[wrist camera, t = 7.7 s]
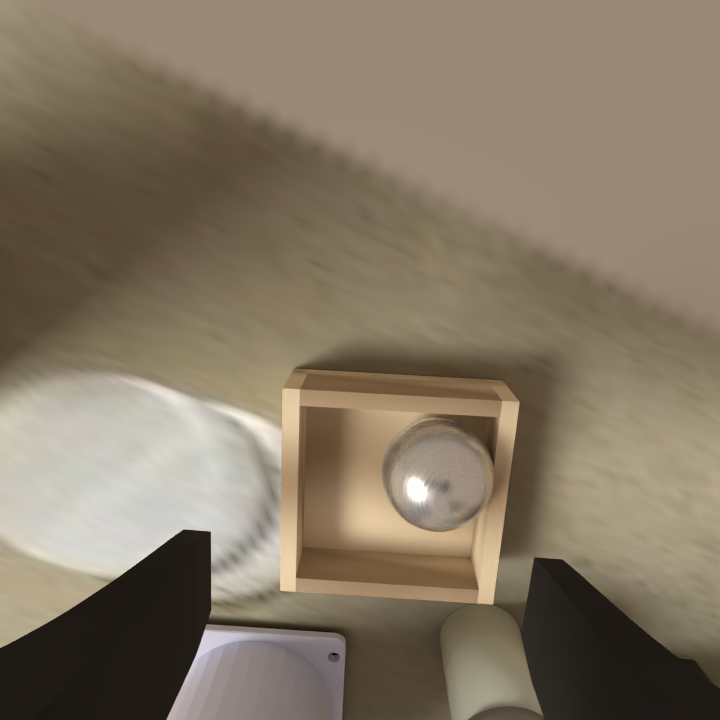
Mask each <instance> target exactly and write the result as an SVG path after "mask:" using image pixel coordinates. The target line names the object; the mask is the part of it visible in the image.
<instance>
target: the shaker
mask: <svg viewBox="0 0 720 720" xmlns="http://www.w3.org/2000/svg"><path fill="white" fill-rule="evenodd" d="M440 646H441V652H442V659H443V666H444V673H445V680H446V687H447V693H448V700H449V707H450V714H451V720H545V719H544V716H543V713H542V711H541V708H540V705H539V702H538V699H537V696H536V693H535V690H534V688H533V685H532V681H531V677H530V673H529V669H528V665H527V660H526V656H525V651H524V646H523V642H522V637H521V632H520V629H519V627H518V624H517V622H516V621H515V619H514V618H513V617H512V616H511V615H510V614H509V613H508V612H506V611H505V610H503V609H501V608H500V607H497V606H494V605H490V604H472V605H468V606H465V607H462V608H460V609H458V610H457V611H455V612H453V613H452V614H451V615H450V616H449V617H448V618H447V619H446V621H445V622H444V624H443V626H442V628H441V631H440Z"/></svg>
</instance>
